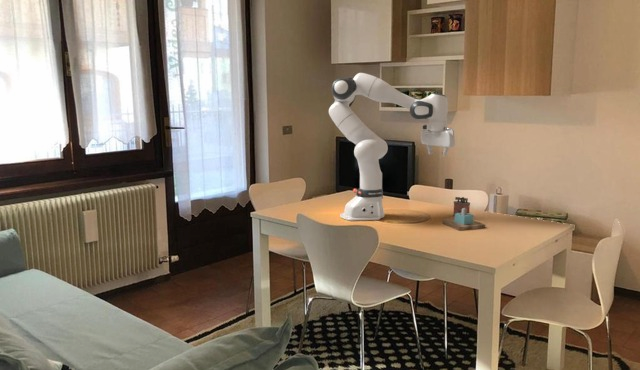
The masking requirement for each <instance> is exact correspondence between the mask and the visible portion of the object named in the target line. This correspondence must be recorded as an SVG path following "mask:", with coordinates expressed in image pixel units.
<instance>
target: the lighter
mask: <svg viewBox="0 0 640 370" xmlns="http://www.w3.org/2000/svg"><path fill="white" fill-rule="evenodd" d="M454 200H455V201H453V215H452V216H453V218H455V214H457V213H462V209H463V208H466V209H467V213H469V214H470V205H471V202H468V201H469V198H468V197H464V196H462V197H461V196H455V197H454Z"/></svg>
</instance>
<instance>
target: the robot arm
mask: <svg viewBox="0 0 640 370" xmlns="http://www.w3.org/2000/svg"><path fill="white" fill-rule="evenodd" d="M331 94H332V97H333V98H334V102H333V103H332V104H331V105H330V107H329V108H328V115H329V118H331V120H332V122H333V123H334V125H335V126H336V127H337V128H338V129H339V131H340V132H341V133H342V135H343V136H344V137H345V138H346V139H347V140H348V141H349V142H351V143H353V144H354V145H355V146H354V150H353V155H354V157H355V158H356V160H357V164H358V169H359V171H358V172H359V188H358V189H357V188H353V189H352V192H353V193H355V194H356V195H355V196H354V197H352V199H351V200H349V201H348V202H347V203H345V206H344V211H343V212H341V213H340V214H339V216H340V218H342V219H344V220H346V221H378V220H381V219H382V218H385V211H384V205H383V199H384V197H383V196H384V191H383V190H384V188H383V172H382V171H381V167H380V166H381V165H380V163H379V162H380V161H379V160H380V159H383V158H384V156H385V155H386V154H387V153H388V149H389V148H388V144H387V142H386V141H385V139H383V138H381V137H379V135H377V134H376V133H375V132H374V131H373V130H371V129H370V128H369V127H368V126H366V124H365V123H364V122H363V121H362V120H361V119H360V117H359V116H357V114H356V113H355V112H354V111H353V110H352V109H351V106H352V105H353V103H354V102H355V99H356V96H363V97H366V98H367V99H370V100H372V101H374V102H377V103H386V104H387V103H389V104H395V105H398V106H400V107H402V108H405V109H407V110H409V114H410V116H411V117H412V118H413V119H415V120H419V121H422V120H427V119H428V123H425V124H422V125H421V133H420V142H421V144H422V145H426V149H427V153H428V155H433V152H434V150H433V149H432V146H433V147H434V146H435V147H443V149H442V150H443V151H441V156H442V157H447V155H448V154H447V152H448V151H449V148H454V147H455V145H456V140H455V137H456V136H455V131H454V129H453V128H452V127H448V112H449V99H448V97H447V96H446V95H445V94H442V93H438V92H437V93H436V92H433V93H431V94H430V95H427V96H426V97H424V98H419V99H418V98H415V97H412V96H410V95H407V94H405V93H403V92H402V91H399V90H398V89H396V88H395V87H394V86H392V85H391V84H390V83H388V82H387V81H385V80H383V79H381V78H379V77H377V76H375V75H372V74H369V73H366V72H358V73H356V74H355V76H354V77H353V78H352V77H342V78H337V79H335V80H334V81H333V83H332V85H331Z"/></svg>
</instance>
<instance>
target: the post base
mask: <svg viewBox="0 0 640 370" xmlns="http://www.w3.org/2000/svg"><path fill="white" fill-rule="evenodd" d="M462 215H464V216H465V215H467V209H466V208H463V209H462ZM454 221H455V218H454V219H453V218H452V219H444V220H442V224H443V225H444V226H445V225H446V226H447V227H450V228H452V229H454V230H457V231H468V230H477V229H478V230H479V229H485V228H486V224H485V223H481V222H479V221H477V220H475V219H473V223H471V224H465V225H463V224H459V223H456V222H454Z"/></svg>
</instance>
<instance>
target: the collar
mask: <svg viewBox="0 0 640 370" xmlns="http://www.w3.org/2000/svg"><path fill="white" fill-rule="evenodd" d="M454 219H455V221H454V222H456V223H459V224H463V225H465V224H471V223H473V220H474V214H472V213H470V212H469V213H467V215H465V216H464V215H462V213H457V214H455V217H454Z"/></svg>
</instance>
